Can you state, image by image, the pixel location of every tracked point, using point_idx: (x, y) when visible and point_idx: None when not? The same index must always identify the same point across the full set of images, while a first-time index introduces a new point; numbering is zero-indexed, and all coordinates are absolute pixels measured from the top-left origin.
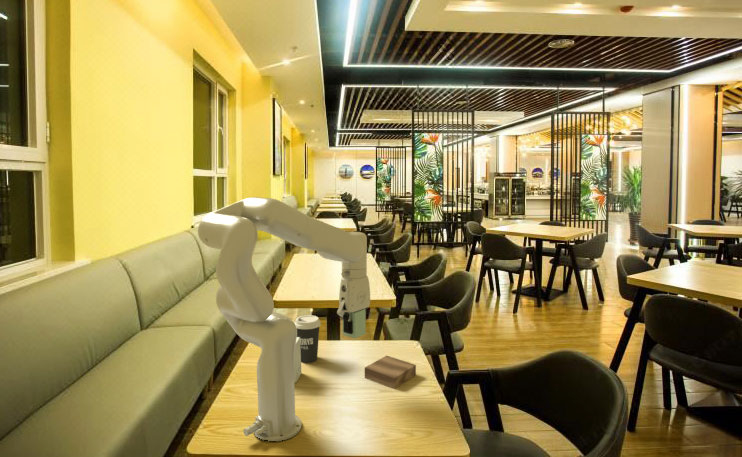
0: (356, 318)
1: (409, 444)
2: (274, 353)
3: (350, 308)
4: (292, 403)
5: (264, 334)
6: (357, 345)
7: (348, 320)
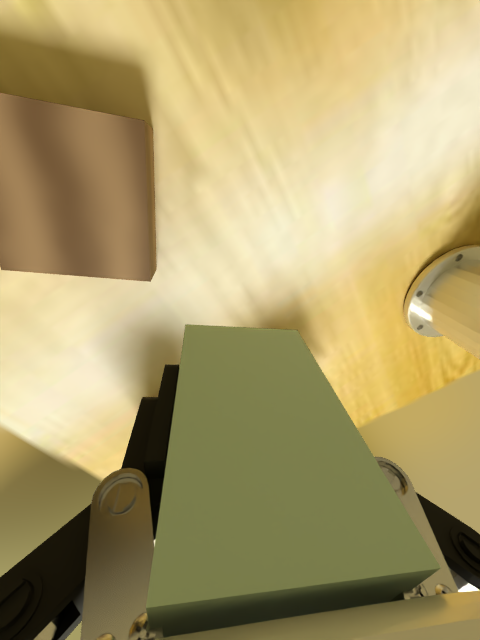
0: (355, 465)
1: None
2: None
3: None
4: None
5: None
6: (5, 399)
7: (403, 476)
